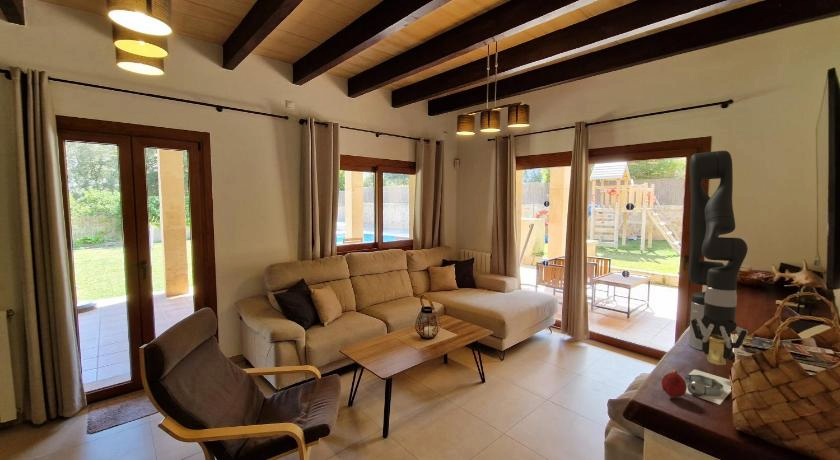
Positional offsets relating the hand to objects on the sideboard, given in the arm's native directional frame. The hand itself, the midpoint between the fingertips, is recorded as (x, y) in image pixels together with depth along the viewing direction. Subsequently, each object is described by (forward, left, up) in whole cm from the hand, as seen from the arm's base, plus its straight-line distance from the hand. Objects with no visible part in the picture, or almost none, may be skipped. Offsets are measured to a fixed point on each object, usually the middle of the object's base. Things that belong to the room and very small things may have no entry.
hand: (716, 356), depth 113 cm
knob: (0, 0, -2) cm, 2 cm away
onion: (+23, -4, -8) cm, 24 cm away
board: (+9, 0, -8) cm, 12 cm away
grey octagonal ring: (+13, 0, -7) cm, 15 cm away
